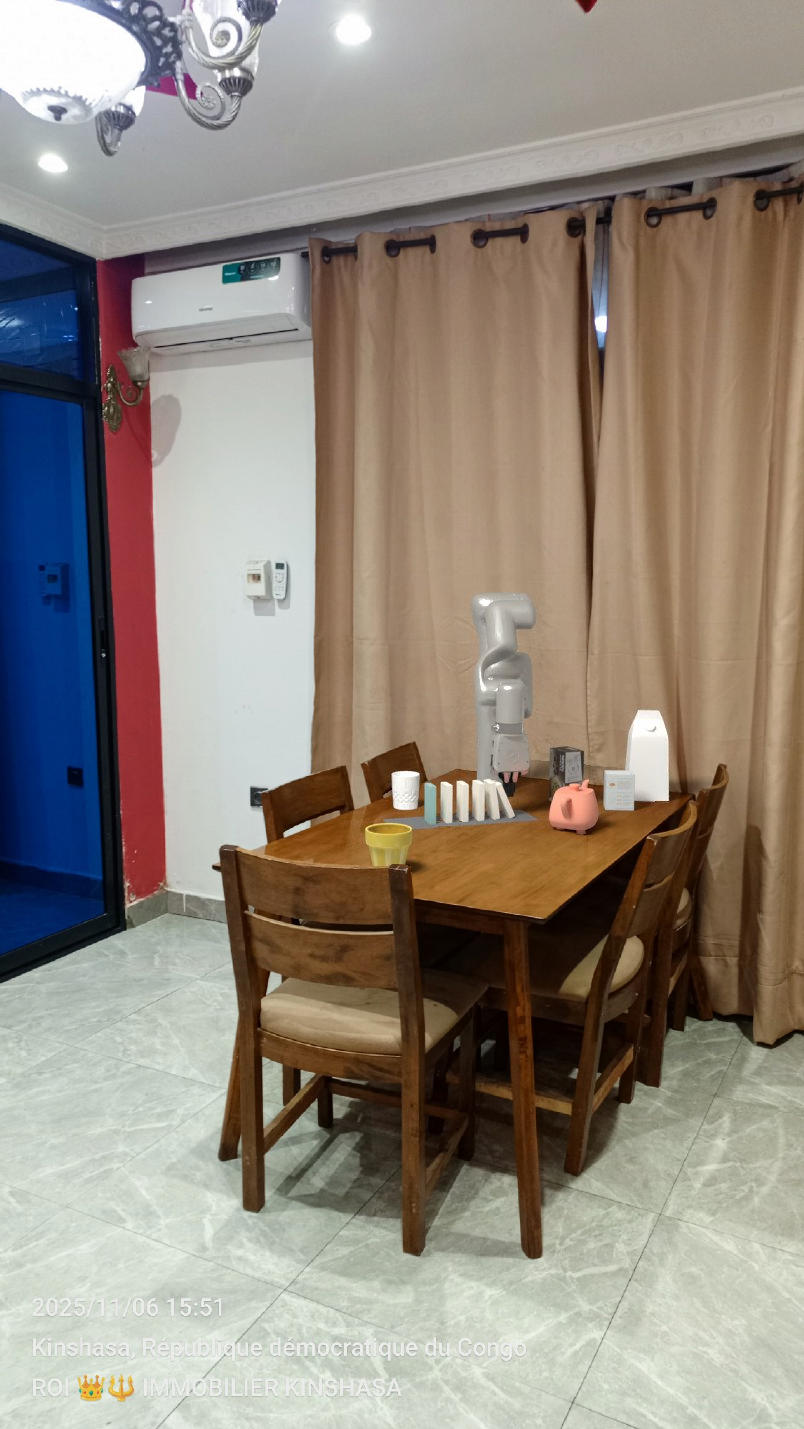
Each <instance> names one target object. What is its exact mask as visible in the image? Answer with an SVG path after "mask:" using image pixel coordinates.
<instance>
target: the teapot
mask: <svg viewBox="0 0 804 1429" xmlns="http://www.w3.org/2000/svg"><path fill="white" fill-rule="evenodd" d="M589 782H590V780H589V779H588V778H587V779H583V784H582V786H581V787H580V784H575V783H573V784H569V785H570V786H565V787H562V788H560V789H558V790H557V791H556V792H555V794H554V797H553V800H552V801H551V804H550V808H549V814H548V821H549V822H550V826H552V828H553V827H554V828H555V830H556V831H557V830H558V831H563V830H565V829H567V830H574V831H576V832H575V833H576V835H579V834H585V835H586V834H587V832H586V831H587V830H589V829H591V828H593V827H594V826H595V825H596V823H597V822H598V819H599V806H598V801H597V797H596V793H595V790H594V789H593V788H590V787H589V788H588V786H589Z"/></svg>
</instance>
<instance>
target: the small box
mask: <svg viewBox="0 0 804 1429" xmlns="http://www.w3.org/2000/svg"><path fill="white" fill-rule="evenodd" d="M603 773H604V774H603V775H604V776H603V808H604V809H605V811H620V812H621V811H625V812H626V811H627V812H630V811H631V812H634V811H635V801H634V788H635V774H634V773H633V772H632V771H625V770H622V769H621V770H619V769H618V770H615V769H614V770H610V769H607V770H606V769H604V772H603Z"/></svg>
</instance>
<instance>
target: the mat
mask: <svg viewBox="0 0 804 1429" xmlns="http://www.w3.org/2000/svg"><path fill="white" fill-rule="evenodd" d="M512 810H513V812H514V814H515V816H514V817H512V818H508V817H507V816H505V815H503V813H502V811H501V810H499V814H500V819H496V820H494V819H492V818H491V817H489V816H488V814H487V811H484V821H478V820H477V819H475V818H474V817H472V812H471V813H469V812H468V822H459V821H460V820H459V819H458V818H456V813H454V814H453V813H452V823H446V822H436V824H429V823H428V822H427V821H425V815H423V816H411V817H397V818H396V817H395V818H384V819H382V821H383V822H384V823H397V824H404V825H407V826H410V827H411V828H412V830H424V829H425V830H426V829H436V828H438V829H439V828H441V827H438V826H451V827H452V826H453V827H465V826H477V825H478V826H479V825H491V824H492V825H493V824H503V823H505V824H506V823H516V822H517V823H520V822H530V821H531V822H532V821H533V822H534V821H535V822H536V821H539V819H538V818H536V817H534V816H532V815H531V814H529V813H528V812H526V811H524V810H522V809H512ZM440 816H441V814H440V815H436V821H443V820H440V819H441V817H440ZM459 824H460V825H459ZM451 827H450V828H451Z"/></svg>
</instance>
